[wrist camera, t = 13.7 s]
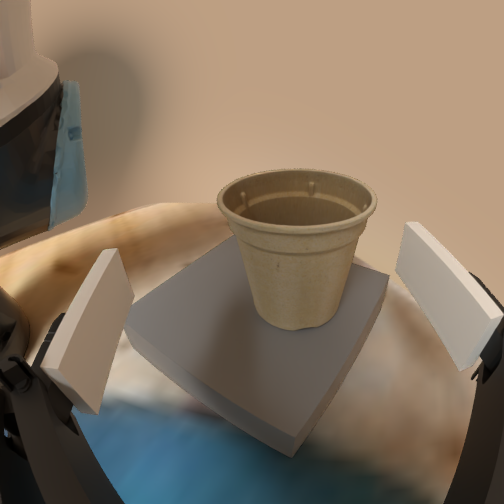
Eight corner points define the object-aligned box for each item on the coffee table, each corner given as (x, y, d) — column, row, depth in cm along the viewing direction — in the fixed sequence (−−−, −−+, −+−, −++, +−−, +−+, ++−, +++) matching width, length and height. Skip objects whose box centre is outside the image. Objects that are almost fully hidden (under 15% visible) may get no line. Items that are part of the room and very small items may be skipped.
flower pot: (213, 338, 19) (187, 220, 14) (251, 260, 26) (243, 166, 22) (357, 359, 16) (387, 235, 12) (357, 271, 24) (369, 172, 19)
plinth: (133, 347, 23) (117, 315, 21) (244, 260, 34) (241, 229, 32) (291, 458, 15) (294, 437, 13) (380, 309, 25) (389, 275, 23)
